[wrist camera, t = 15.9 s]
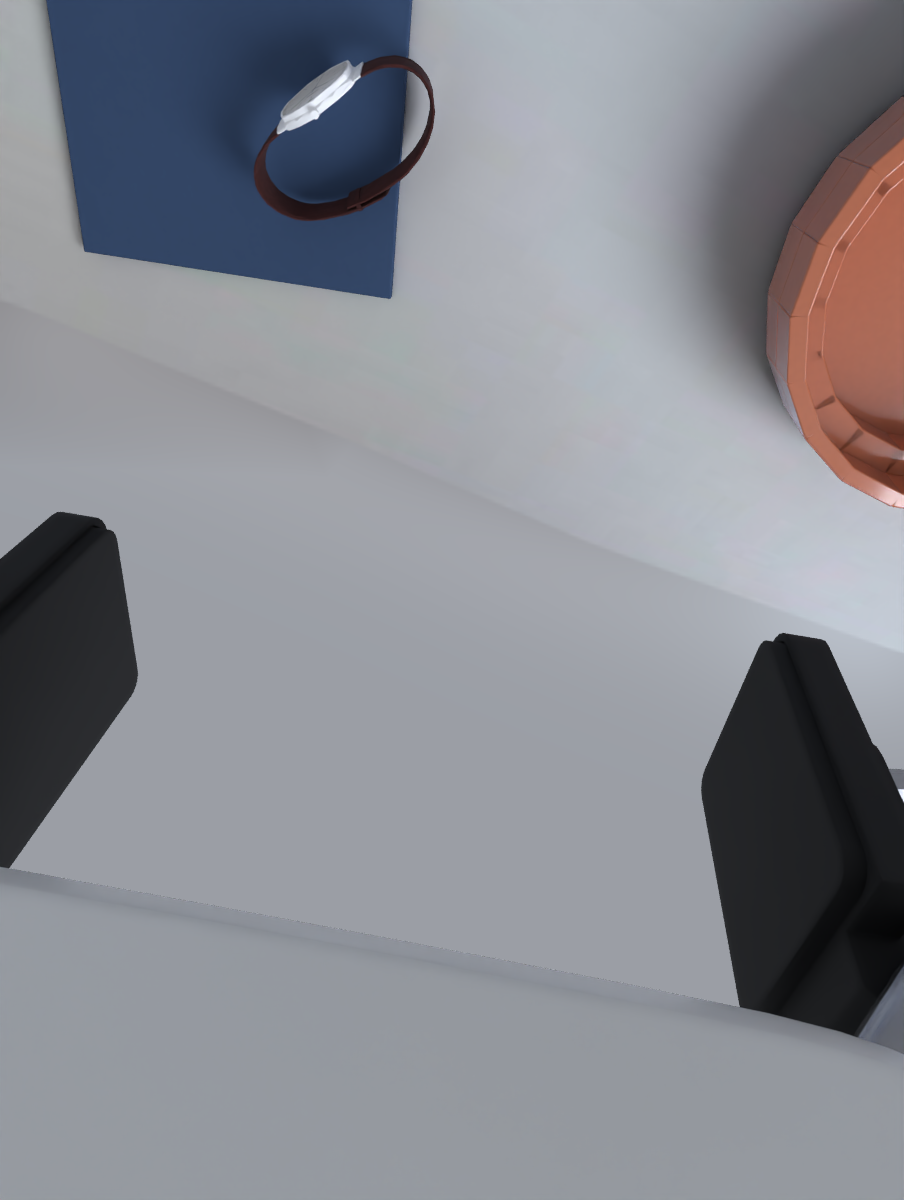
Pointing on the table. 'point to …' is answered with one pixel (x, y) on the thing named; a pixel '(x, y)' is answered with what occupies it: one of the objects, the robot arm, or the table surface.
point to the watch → (308, 108)
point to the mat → (232, 133)
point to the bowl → (847, 313)
